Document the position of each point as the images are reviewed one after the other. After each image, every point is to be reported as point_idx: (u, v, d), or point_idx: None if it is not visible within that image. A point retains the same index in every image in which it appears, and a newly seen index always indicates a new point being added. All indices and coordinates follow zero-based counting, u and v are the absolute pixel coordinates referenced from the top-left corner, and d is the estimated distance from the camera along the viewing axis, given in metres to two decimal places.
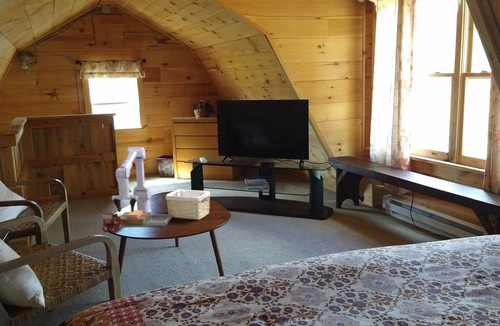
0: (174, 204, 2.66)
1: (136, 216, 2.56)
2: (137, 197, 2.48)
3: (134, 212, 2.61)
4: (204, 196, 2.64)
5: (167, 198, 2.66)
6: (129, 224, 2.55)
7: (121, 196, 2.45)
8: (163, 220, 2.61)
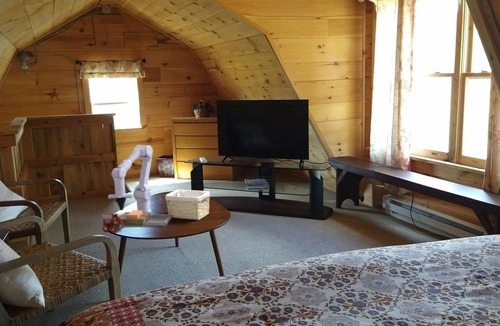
0: (174, 204, 2.65)
1: (136, 216, 2.56)
2: (132, 196, 2.60)
3: (134, 212, 2.61)
4: (204, 196, 2.64)
5: (167, 198, 2.66)
6: (129, 224, 2.55)
7: (117, 195, 2.57)
8: (163, 220, 2.61)
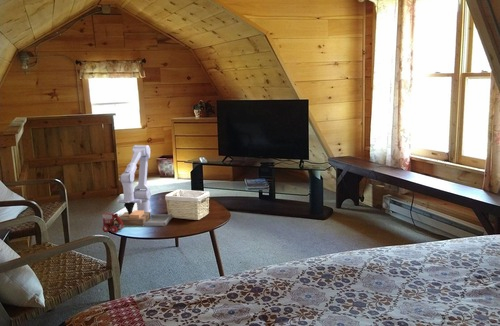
0: (173, 204, 2.65)
1: (138, 216, 2.56)
2: (141, 201, 2.60)
3: (136, 212, 2.61)
4: (203, 196, 2.64)
5: (166, 198, 2.66)
6: (129, 224, 2.55)
7: (126, 200, 2.57)
8: (163, 220, 2.61)
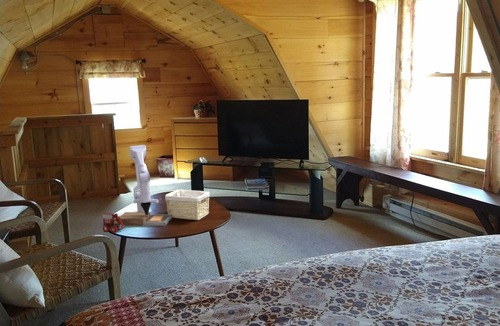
0: (173, 204, 2.65)
1: None
2: (157, 200, 2.59)
3: None
4: (203, 196, 2.64)
5: (166, 198, 2.66)
6: (129, 224, 2.55)
7: (142, 200, 2.56)
8: (163, 220, 2.61)
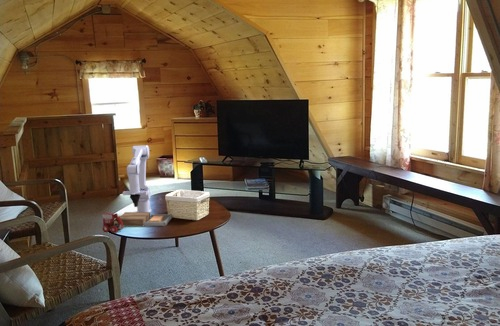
0: (173, 204, 2.65)
1: None
2: (147, 192, 2.58)
3: None
4: (203, 197, 2.63)
5: (166, 198, 2.66)
6: (129, 224, 2.55)
7: (131, 191, 2.56)
8: (163, 220, 2.61)
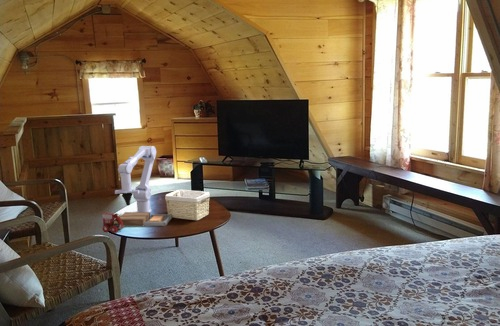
0: (173, 204, 2.65)
1: None
2: (139, 191, 2.62)
3: None
4: (203, 197, 2.63)
5: (166, 198, 2.66)
6: (129, 224, 2.55)
7: (123, 190, 2.59)
8: (163, 220, 2.61)
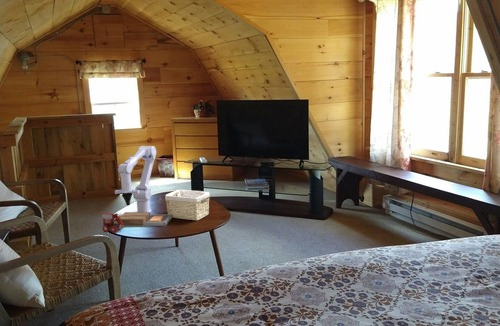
0: (173, 204, 2.65)
1: None
2: (139, 191, 2.62)
3: None
4: (203, 197, 2.63)
5: (166, 198, 2.66)
6: (129, 224, 2.55)
7: (123, 190, 2.59)
8: (163, 220, 2.61)
